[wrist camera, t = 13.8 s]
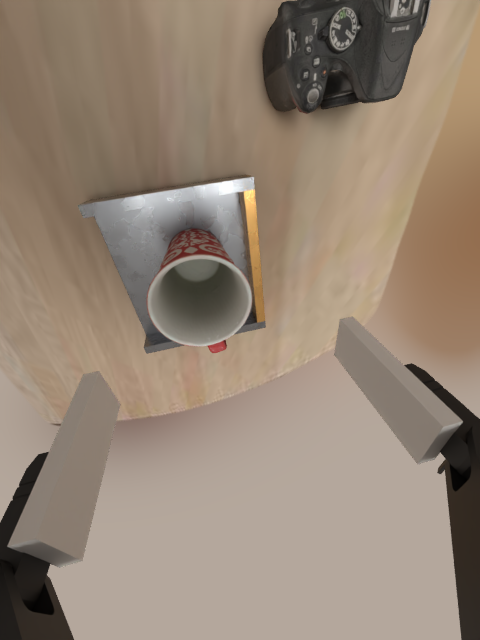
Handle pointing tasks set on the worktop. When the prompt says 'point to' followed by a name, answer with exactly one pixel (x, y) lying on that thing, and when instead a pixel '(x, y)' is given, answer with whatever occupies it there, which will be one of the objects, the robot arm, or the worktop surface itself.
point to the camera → (340, 51)
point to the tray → (165, 223)
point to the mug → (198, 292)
